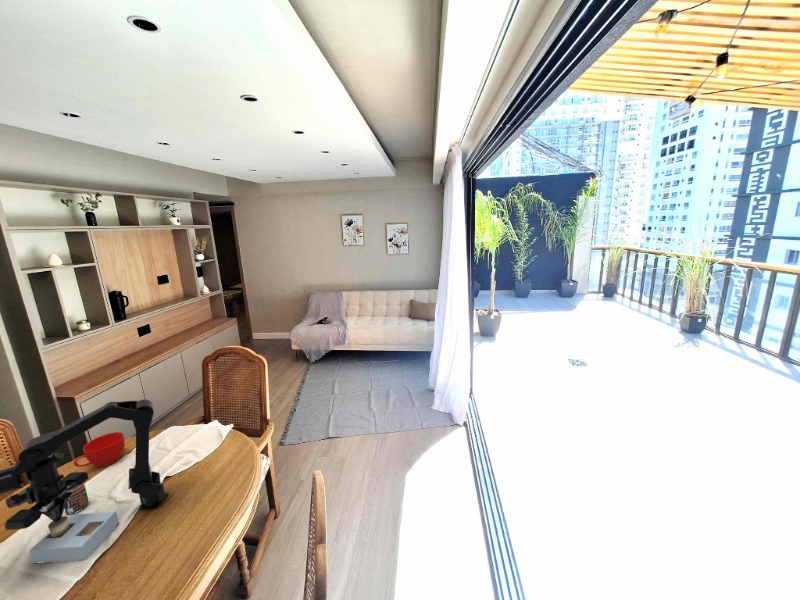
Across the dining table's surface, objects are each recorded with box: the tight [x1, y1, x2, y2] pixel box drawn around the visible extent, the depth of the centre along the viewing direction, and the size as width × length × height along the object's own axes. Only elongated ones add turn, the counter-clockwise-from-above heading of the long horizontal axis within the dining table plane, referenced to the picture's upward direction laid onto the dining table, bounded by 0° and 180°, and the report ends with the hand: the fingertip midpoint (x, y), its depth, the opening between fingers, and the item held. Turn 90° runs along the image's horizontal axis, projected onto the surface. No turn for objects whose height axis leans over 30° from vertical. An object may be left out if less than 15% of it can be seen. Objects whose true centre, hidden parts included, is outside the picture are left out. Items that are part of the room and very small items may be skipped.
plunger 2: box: [81, 522, 99, 536], centre depth 97 cm, size 4×4×4 cm
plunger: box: [47, 515, 70, 538], centre depth 96 cm, size 4×4×4 cm
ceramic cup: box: [73, 431, 126, 468], centre depth 131 cm, size 13×17×10 cm
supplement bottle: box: [64, 482, 90, 515], centre depth 109 cm, size 6×6×11 cm
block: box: [28, 510, 120, 564], centre depth 97 cm, size 15×12×5 cm
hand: (57, 520), depth 95 cm, fingers closed
